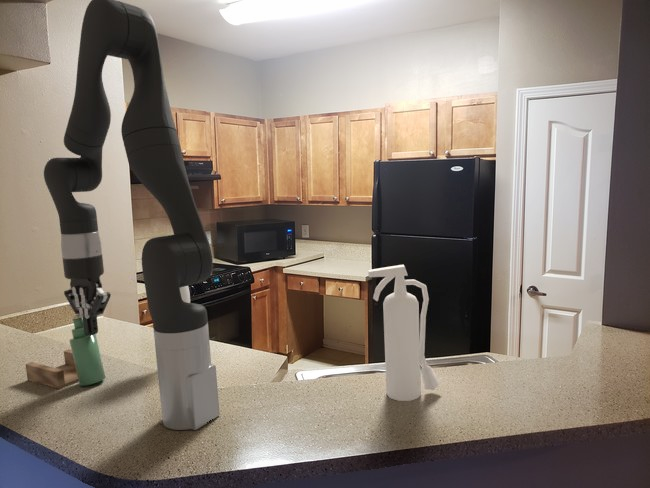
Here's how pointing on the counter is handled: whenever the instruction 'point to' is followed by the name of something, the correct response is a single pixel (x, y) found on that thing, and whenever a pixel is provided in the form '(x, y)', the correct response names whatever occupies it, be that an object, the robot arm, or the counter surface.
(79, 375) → the bottle
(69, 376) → the brown wooden u-shaped block
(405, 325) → the fire extinguisher
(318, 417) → the counter surface
